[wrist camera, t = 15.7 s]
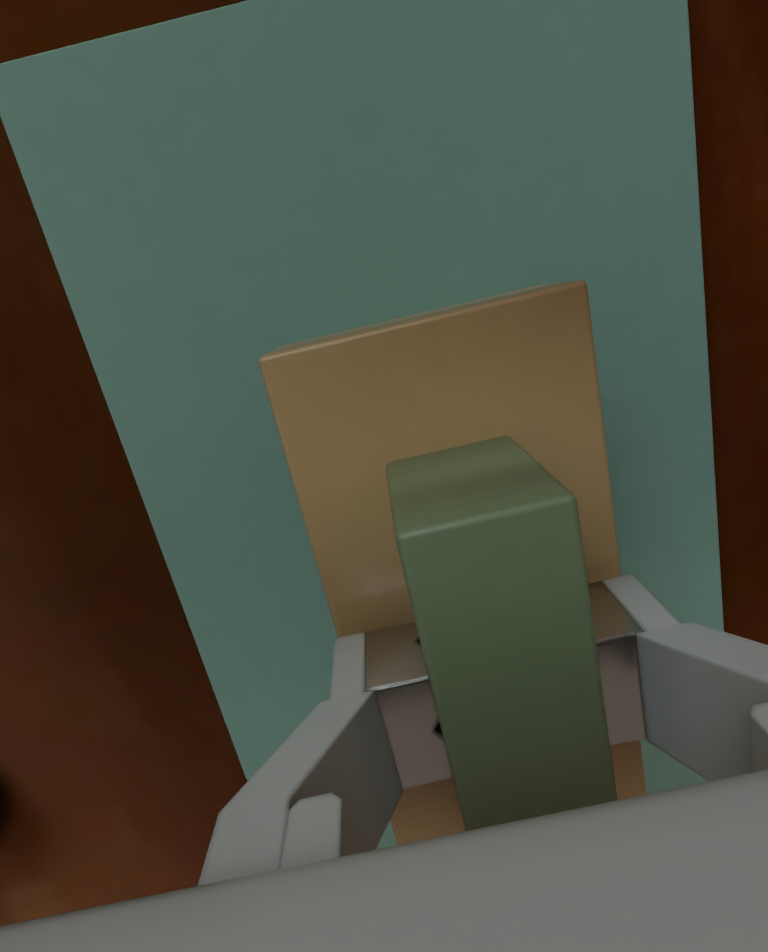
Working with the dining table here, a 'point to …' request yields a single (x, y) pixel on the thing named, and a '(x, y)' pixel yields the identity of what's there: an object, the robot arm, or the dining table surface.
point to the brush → (470, 535)
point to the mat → (368, 269)
